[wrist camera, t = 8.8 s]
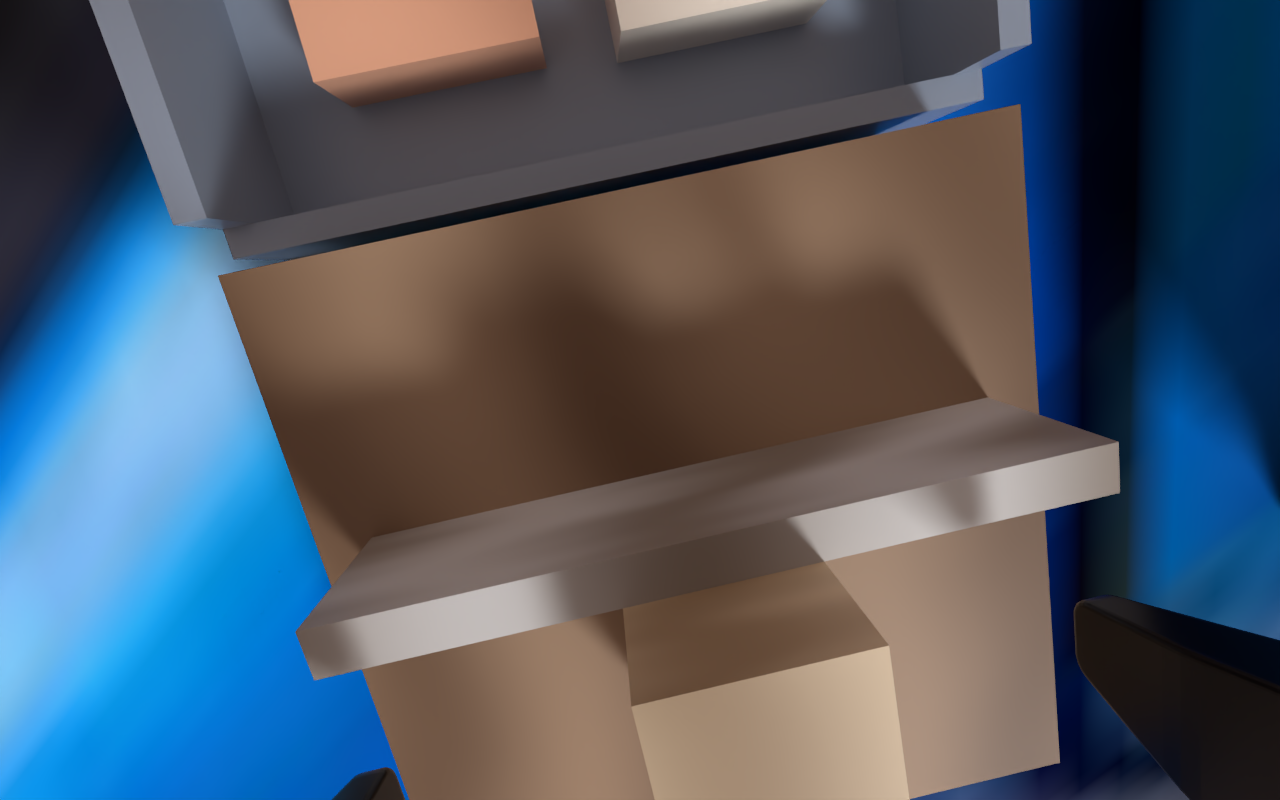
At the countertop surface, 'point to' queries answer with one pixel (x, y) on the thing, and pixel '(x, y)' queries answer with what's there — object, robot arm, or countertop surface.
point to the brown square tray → (673, 425)
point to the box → (514, 113)
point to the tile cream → (696, 22)
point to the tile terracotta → (414, 44)
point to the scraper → (723, 589)
